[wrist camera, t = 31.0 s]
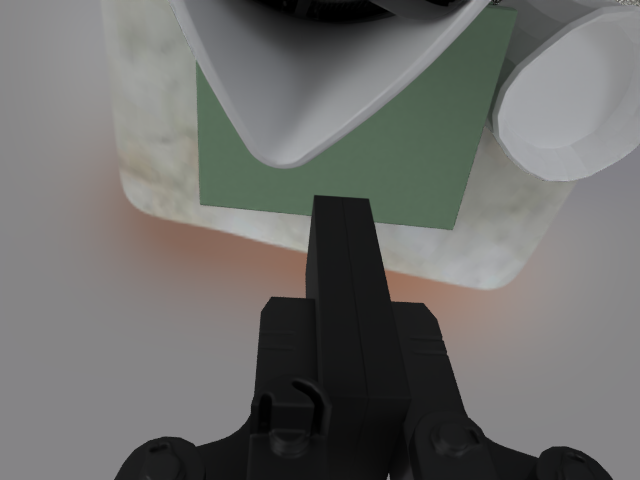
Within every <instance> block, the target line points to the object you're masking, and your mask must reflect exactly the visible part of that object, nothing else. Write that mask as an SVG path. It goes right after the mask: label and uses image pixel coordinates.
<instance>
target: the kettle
mask: <svg viewBox="0 0 640 480" xmlns="http://www.w3.org/2000/svg"><path fill="white" fill-rule="evenodd" d="M168 1H169V3H170V6H171V8H172V10H173V12H174V14H175V17H176V19H177V21H178V23H179V25H180V28H181V30H182V32H183V34H184V36H185V38H186V41H187V43H188V45H189V47H190V49H191V51H192V53H193V55H194V57H195V58H196V60H197V62H198V64H199V66H200V68H201V70H202V72H203V74H204V76H205V78H206V80H207V81H208V83H209V85H210V87H211V88H212V90H213V92H214V94H215V95H216V97H217V99H218V101H219V102H220V104H221V106H222V108H223V110H224V111H225V113H226V115H227V116H228V118H229V120H230V121H231V123H232V125H233V126H234V128H235V130H236V131H237V133H238V135H239V136H240V138H241V139H242V141H243V143H244V144H245V146H246V148H247V149H248V151H249V152H250V153H251V154H252V155H253V156H254V157H255V158H256V159H257V160H259V161H260V162H261V163H263V164H265V165H267V166H270V167H274V168H279V169H290V168H296V167H300V166H302V165H304V164H306V163H308V162H309V161H311V160H312V159H314V158H315V157H316V156H318V155H319V154H321V153H322V152H324V151H325V150H326V149H328V148H329V147H331V146H332V145H333V144H335V143H336V142H338V141H339V140H341V139H342V138H343V137H345V136H346V135H347V134H349V133H350V132H351V131H352V130H354V129H355V128H356V127H358V126H359V125H360V124H362V123H363V122H364V121H366V120H367V119H368V118H370V117H371V116H372V115H374V114H375V113H376V112H377V111H378V110H380V109H381V108H382V107H383V106H384V105H386V104H387V103H388V102H389V101H390V100H392V99H393V98H394V97H395V96H396V95H398V94H399V93H400V92H401V91H402V90H404V89H405V88H406V87H407V86H408V85H409V84H410V83H411V82H412V81H413V80H415V79H416V78H417V77H418V76H419V75H420V74H421V73H422V72H423V71H424V70H425V69H426V68H428V67H429V66H430V65H431V64H432V63H433V62H434V61H435V60H436V59H437V58H438V57H439V56H440V55H441V54H442V53H443V52H444V51H445V50H446V49H447V48H448V47H449V46H450V45H451V43H452V42H453V41H454V40H455V39H456V38H457V37H458V36H459V35H460V34H461V33H462V32H463V31H464V30H465V29H466V28H467V27H468V26H469V25H470V24H471V22H472V21H473V20H474V19H475V18H476V17H477V16H478V15H479V14H480V12H481V11H482V10H483V9H484V8H485V7H486V6H487V5H488V3H489V2H490V1H491V0H168Z"/></svg>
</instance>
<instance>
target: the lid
mask: <svg viewBox="0 0 640 480" xmlns="http://www.w3.org/2000/svg"><path fill="white" fill-rule="evenodd" d="M517 14H518V11H517V10H516V9H514V8H513V7H504V6H496V5H487V6H486V7H485V8H484V9H483V10H482V11H481V12H480V14H479V15H478V16H477V17H476V18H475V19H474V20H473V21H472V22H471V24H470V25H469V26H468V27H467V28H466V29H465V30H464V31H463V32H462V33H461V34H460V35H459V36H458V37H457V38H456V39H455V40H454V41H453V42H452V43H451V45H450V46H449V47H448V48H447V49H446V50H445V51H444V52H443V53H442V54H441V55H440V56H439V57H438V58H437V59H436V60H435V61H434V62H433V63H432V64H431V65H430V66H429V67H428V68H426V69H425V70H424V71H423V72H422V73H421V74H420V75H419V76H418V77H417V78H416V79H415V80H413V81H412V82H411V83H410V84H409V85H408V86H407V87H406V88H405V89H404V90H402V91H401V92H400V93H399V94H398V95H396V96H395V97H394V98H393V99H392V100H390V101H389V102H388V103H387V104H386V105H384V106H383V107H382V108H381V109H380V110H378V111H377V112H376V113H375V114H374V115H372V116H371V117H370V118H368V119H367V120H366V121H364V122H363V123H362V124H360V125H359V126H358V127H356V128H355V129H354V130H352V131H351V132H350V133H349V134H347V135H346V136H345V137H343V138H342V139H341V140H339V141H338V142H336V143H335V144H333V145H332V146H331V147H329V148H328V149H326V150H325V151H324V152H322V153H321V154H319V155H318V156H316V157H315V158H314V159H312V160H311V161H309V162H308V163H306V164H304V165H302V166H300V167H296V168H290V169H279V168H274V167H270V166H267V165H265V164H263V163H261V162H260V161H259V160H257V159H256V158H255V157H254V156H253V155H252V154H251V153H250V152H249V151H248V149H247V148H246V146H245V144H244V143H243V141H242V139H241V138H240V136H239V135H238V133H237V131H236V130H235V128H234V126H233V125H232V123H231V121H230V120H229V118H228V116H227V115H226V113H225V111H224V110H223V108H222V106H221V104H220V102H219V101H218V99H217V97H216V95H215V94H214V92H213V90H212V88H211V87H210V85H209V83H208V81H207V80H206V78H205V76H204V74H203V72H202V70H201V68H200V66H199V64H198V62H197V60H196V80H197V116H198V152H199V188H200V205H207V206H217V207H227V208H237V209H247V210H257V211H268V212H278V213H288V214H298V215H308V216H312V208H313V199H314V195H324V196H339V197H353V198H368V199H369V201H370V205H371V210H372V215H373V220H374V222H378V223H388V224H398V225H408V226H418V227H428V228H438V229H448V230H453V228H454V225H455V221H456V218H457V215H458V211H459V208H460V205H461V201H462V198H463V195H464V191H465V188H466V185H467V181H468V178H469V175H470V171H471V168H472V164H473V161H474V158H475V154H476V151H477V148H478V144H479V141H480V138H481V134H482V131H483V128H484V124H485V121H486V118H487V114H488V111H489V107H490V104H491V101H492V97H493V94H494V91H495V87H496V84H497V81H498V77H499V74H500V71H501V67H502V64H503V61H504V57H505V54H506V50H507V47H508V44H509V40H510V37H511V34H512V30H513V27H514V24H515V20H516V17H517Z"/></svg>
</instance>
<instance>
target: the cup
mask: <svg viewBox="0 0 640 480" xmlns="http://www.w3.org/2000/svg"><path fill="white" fill-rule="evenodd" d="M496 6H504V7H513V8H514V9H516V10H517V11H518V14H517V17H516V20H515V24H514V27H513V30H512V34H511V37H510V40H509V44H508V47H507V50H506V54H505V57H504V61H503V64H502V67H501V71H500V74H499V77H498V81H497V84H496V87H495V91H494V94H493V97H492V101H491V104H490V107H489V111H488V114H487V118H486V121H485V124H484V126H485V127H486V128H488V129H489V130H490V131H491V132H492V133H493V136H494V137H495V139H496V140H497V142H498V143H499V145H500V146H501V148H502V149H503V151H504V152H505V154H506V155H507V157H508V158H509V159H510V160H512V161H513V162H514V163H515V164H516V165H517V166H518V167H520V168H521V169H522V170H523V171H524V172H526V173H528V174H530V175H532V176H534V177H536V178H538V179H540V180H542V181H558V182H568V181H572V180H577V179H581V178H585V177H589V176H591V175H593V174H595V173H597V172H599V171H601V170H603V169H604V168H606V167H608V166H610V165H612V164H614V163H616V162H618V161H619V160H621V159H622V158H623V157H625V156H626V155H628V154H629V153H630V152H631V151H633V150H634V149H635V148H637V147H638V146H639V144H640V7H639V6H636V5H622V4H620V3H619V2H617V1H616V0H502V1H501V2H499V3H498V4H497V5H496Z"/></svg>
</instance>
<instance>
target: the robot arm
mask: <svg viewBox="0 0 640 480" xmlns="http://www.w3.org/2000/svg"><path fill="white" fill-rule="evenodd" d="M388 473H389V475H390V480H613V479H612V478H611V476H610V475H609V474H608V472H607V471H606V470H605V469H603V467H602V466H601V465H600V464H599V463H598V462H597V461H595V460H594V459H593V458H591V457H590V456H588V455H586V454H585V453H583V452H582V451H579V450H576V449H572V448H569V447H565V446H562V447H551V448H549V449H547V450H545V451H543V452H542V453H541V455H540V457H539V458H537V457H534V456H531V455H527V454H525V453H522V452H519V451H515V450H513V449H510V448H506V447H504V446H502V445H499V444H497V443H495V442H493V441H492V440H490V439H489V438H487V437H485V435H484V433H483V431H482V429H481V428H480V427H479V426H477V424H476V423H474V422H473V421H472V420H471V419H470V418H468V416H467V414H466V412H465V409H464V406H463V403H462V399H461V396H460V393H459V389H458V386H457V383H456V380H455V377H454V373H453V370H452V367H451V363H450V360H449V357H448V355H447V350H446V347H445V344H444V341H442V334H441V331H440V328H439V324H438V321H437V319H436V318H435V316H434V315H433V314H432V313H431V312H430V310H429V309H428V308H427V307H426V306H425V304H424V303H411V302H392V301H391V300H390V294H389V290H388V285H387V280H386V276H385V271H384V266H383V262H382V257H381V252H380V248H379V243H378V238H377V234H376V229H375V224H374V220H373V215H372V210H371V205H370V201H369V199H368V198H353V197H339V196H324V195H314V199H313V208H312V217H311V227H310V236H309V246H308V255H307V264H306V298H286V297H271V298H270V300H269V301H268V302H267V304H266V305H265V307H264V308H263V310H262V311H261V319H260V332H259V343H258V355H257V368H256V380H255V391H254V397H253V400H252V404H251V414H250V416H249V418H248V420H247V421H246V423H245V424H244V425H243V426H242V427H241V428H240V429H239V430H238V431H236V432H235V433H233V434H232V435H230V436H229V437H226V438H224V439H221V440H218V441H215V442H211V443H208V444H204V445H201V446H197V447H196V446H195V445H194V444H193V443H191V442H189V441H187V440H184V439H182V438H179V437H161V438H158V439H154V440H150V441H148V442H146V443H144V444H143V445H141V446H140V447H138V448H137V449H135V450H134V451H133V452H132V453H131V455H130V456H129V457H128V458H127V460H126V461H125V462H124V463H123V465H122V467H121V468H120V470H119V472H118V474H117V476H116V477H115V479H114V480H387V477H388Z"/></svg>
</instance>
